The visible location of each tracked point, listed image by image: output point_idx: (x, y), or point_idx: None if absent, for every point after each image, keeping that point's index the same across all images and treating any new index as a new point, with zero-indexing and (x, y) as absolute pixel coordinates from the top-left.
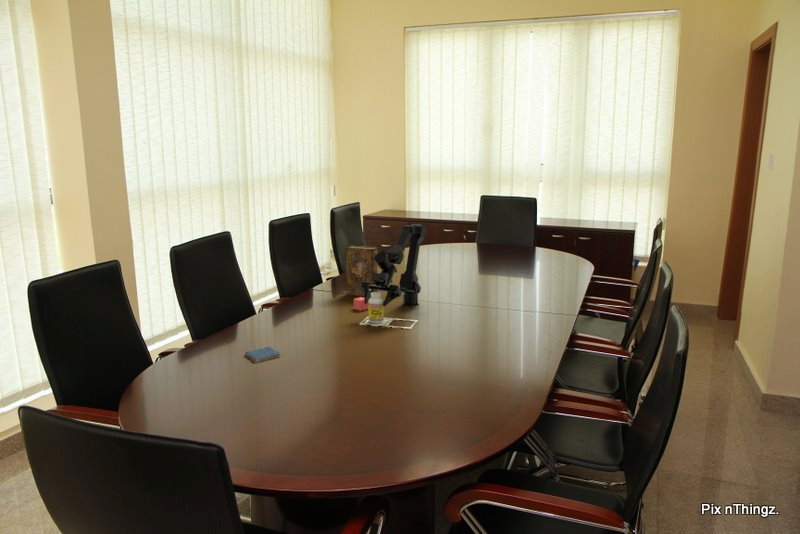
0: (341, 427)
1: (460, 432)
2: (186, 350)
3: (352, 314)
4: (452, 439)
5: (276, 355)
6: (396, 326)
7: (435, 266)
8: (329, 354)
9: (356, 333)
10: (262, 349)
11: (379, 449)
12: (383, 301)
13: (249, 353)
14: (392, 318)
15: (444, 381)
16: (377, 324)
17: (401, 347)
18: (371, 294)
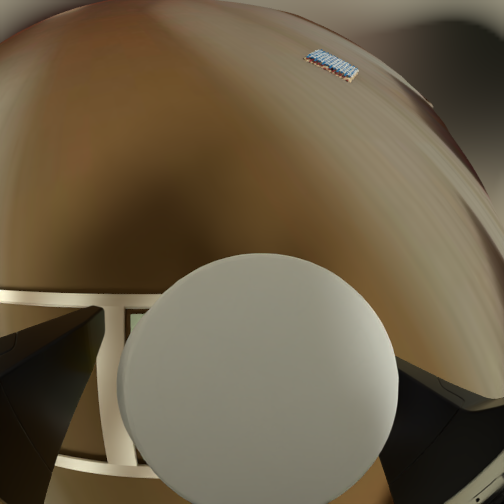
0: (133, 6)
1: (37, 27)
2: (423, 101)
3: None
4: (46, 22)
5: (311, 59)
6: (42, 302)
7: None
8: (221, 59)
9: (226, 168)
10: (349, 72)
11: (100, 6)
12: (120, 411)
13: (347, 62)
14: (124, 472)
15: (12, 60)
16: None
17: (40, 112)
18: (336, 279)
